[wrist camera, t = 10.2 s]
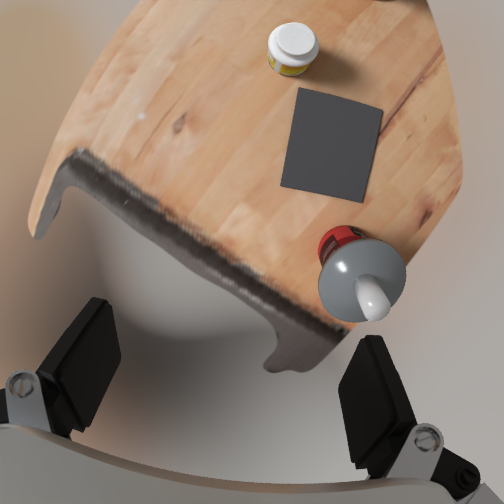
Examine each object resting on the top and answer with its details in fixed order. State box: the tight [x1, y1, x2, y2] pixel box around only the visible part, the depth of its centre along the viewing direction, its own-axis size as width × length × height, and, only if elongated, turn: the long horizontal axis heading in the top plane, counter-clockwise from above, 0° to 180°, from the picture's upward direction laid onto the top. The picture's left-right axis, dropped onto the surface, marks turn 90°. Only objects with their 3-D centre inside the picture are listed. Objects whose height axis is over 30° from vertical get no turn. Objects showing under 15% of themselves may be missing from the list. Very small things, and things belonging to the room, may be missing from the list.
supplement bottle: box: [268, 22, 319, 76], centre depth 28 cm, size 6×6×10 cm
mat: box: [280, 87, 382, 203], centre depth 38 cm, size 14×12×1 cm
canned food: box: [318, 226, 367, 267], centre depth 39 cm, size 8×8×11 cm
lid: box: [318, 238, 406, 322], centre depth 31 cm, size 11×11×6 cm
